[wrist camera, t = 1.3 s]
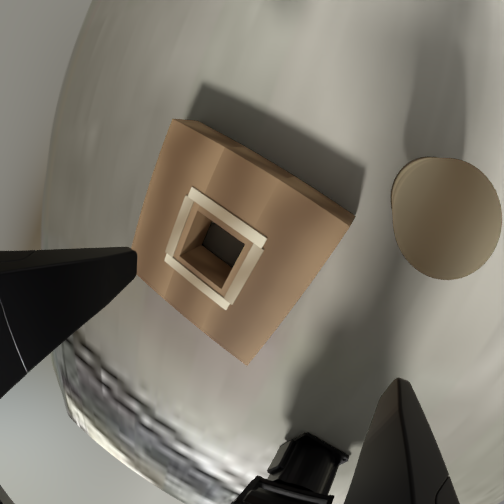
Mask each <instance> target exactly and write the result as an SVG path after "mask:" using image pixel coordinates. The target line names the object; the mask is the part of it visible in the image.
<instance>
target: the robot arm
mask: <svg viewBox="0 0 504 504" xmlns="http://www.w3.org/2000/svg"><path fill="white" fill-rule="evenodd" d="M137 257H138V256H137V252H136V251H134V250H133V249H131V248H129V247H108V248H80V249H54V250H37V251H35V250H30V251H0V399H1V398H2V397H3V396H4V395H5V394H6V393H7V392H8V391H9V390H10V389H11V388H12V387H13V386H14V385H16V383H18V382H19V381H20V380H21V379H22V378H23V377H24V376H25V375H26V374H27V373H28V372H29V371H30V370H32V369H33V368H34V367H35V366H36V365H37V364H38V363H40V362H41V361H42V360H43V359H44V358H45V357H46V356H47V355H49V354H50V353H51V352H52V351H53V350H54V349H55V348H57V347H58V346H59V345H60V344H61V343H62V342H64V341H65V340H66V339H67V338H68V337H69V336H71V335H72V334H73V333H74V332H75V331H76V330H78V329H79V328H80V327H81V326H82V325H84V324H85V323H86V322H87V321H88V320H90V319H91V318H92V317H93V316H94V315H96V314H97V313H98V312H99V311H101V310H102V309H103V308H104V307H105V306H106V305H108V304H109V303H110V302H111V301H112V300H113V299H114V298H115V297H116V296H117V295H118V294H119V293H120V292H121V291H122V290H123V289H124V288H125V287H126V286H127V285H128V284H129V283H130V282H131V281H132V280H133V279H134V278H135V276H136V274H137ZM348 459H349V456H348V455H346V454H344V453H342V452H340V451H339V450H337V449H335V448H333V447H331V446H330V445H328V444H326V443H325V442H323V441H321V440H319V439H318V438H316V437H314V436H313V435H311V434H309V433H304V434H302V435H301V436H299V437H298V438H296V439H294V440H290V441H289V442H287V443H285V444H284V445H282V446H281V447H280V448H279V449H278V451H277V454H276V456H275V457H274V459H273V461H272V463H271V464H270V466H269V468H268V470H267V471H268V473H269V474H270V475H269V477H268V479H264V478H262V477H261V476H258V475H257V476H256V477H255V479H254V480H252V481H251V482H250V483H249V485H248V486H247V487H246V488H245V489H244V491H243V492H242V493H241V494H240V495H239V496H238V498H236V499H235V500H234V501H233V502H232V503H231V504H332V502H333V499H334V495H328V493H329V491H330V488H331V485H332V483H333V480H334V478H335V475H336V472H337V469H338V467H339V465H340V464H343V463H345V462H347V461H348ZM448 475H449V473H448V471H447V468H446V465H445V463H444V460H443V458H442V455H441V453H440V450H439V448H438V445H437V443H436V440H435V438H434V435H433V433H432V431H431V428H430V426H429V424H428V421H427V419H426V417H425V414H424V412H423V410H422V408H421V405H420V403H419V401H418V399H417V397H416V394H415V392H414V390H413V388H412V386H411V384H410V382H409V381H407V380H404V379H402V378H396V379H395V380H394V381H393V382H392V383H391V385H390V386H389V387H388V388H387V390H386V391H385V392H384V393H383V395H382V396H381V398H380V400H379V402H378V405H377V408H376V411H375V414H374V417H373V419H372V422H371V425H370V427H369V430H368V433H367V435H366V438H365V440H364V443H363V446H362V449H361V453H360V456H359V459H358V463H357V466H356V469H355V473H354V476H353V479H352V482H351V485H350V488H349V491H348V494H347V496H346V499H345V502H344V504H460V503H459V501H458V498H457V495H456V492H455V490H454V487H453V484H452V482H451V479H450V477H449V476H448ZM0 504H14V503H13V501H12V500H11V499H10V498H9V496H8V495H7V494H6V492H5V491H4V490H3V488H2V487H1V485H0Z"/></svg>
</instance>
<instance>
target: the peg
mask: <svg viewBox="0 0 504 504" xmlns="http://www.w3.org/2000/svg"><path fill="white" fill-rule="evenodd" d="M391 208H392V215H393V229H394V234H395V238H396V241H397V244H398V246H399V248H400V250H401V252H402V254H403V255H404V257H405V258H406V260H407V261H408V262H409V263H410V264H411V265H412V266H413V267H414V268H415V269H417V270H418V271H420V272H421V273H423V274H425V275H427V276H429V277H432V278H436V279H441V280H453V279H458V278H462V277H465V276H468V275H470V274H471V273H473V272H475V271H476V270H478V269H479V268H480V267H481V266H482V265H484V264H485V263H486V261H487V260H488V259H489V258H490V256H491V255H492V253H493V252H494V250H495V248H496V245H497V243H498V240H499V237H500V233H501V226H502V212H501V205H500V201H499V198H498V195H497V193H496V190H495V189H494V187H493V185H492V183H491V182H490V181H489V179H488V178H487V177H486V176H485V175H484V174H483V173H482V172H481V171H480V170H479V169H478V168H476V167H475V166H473V165H471V164H470V163H467V162H465V161H462V160H458V159H453V158H437V157H421V158H417V159H415V160H412V161H411V162H409V163H408V164H406V165H405V166H404V167H403V168H402V169H401V170H400V171H399V173H398V174H397V176H396V178H395V180H394V182H393V185H392V189H391Z"/></svg>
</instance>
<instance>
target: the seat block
mask: <svg viewBox="0 0 504 504" xmlns="http://www.w3.org/2000/svg"><path fill="white" fill-rule="evenodd" d="M355 217H356V216H354V215H353V214H351V213H350V212H348V211H347V210H346V209H344V208H343V207H341V206H340V205H338V204H337V203H335V202H334V201H332V200H331V199H329V198H328V197H326V196H325V195H323V194H322V193H320V192H319V191H317V190H316V189H314V188H313V187H311V186H309V185H308V184H306V183H305V182H303V181H302V180H300V179H298V178H297V177H295V176H294V175H292V174H290V173H289V172H287V171H286V170H284V169H282V168H281V167H279V166H277V165H276V164H274V163H272V162H271V161H269V160H267V159H266V158H264V157H262V156H260V155H259V154H257V153H255V152H254V151H252V150H250V149H248V148H247V147H245V146H243V145H241V144H240V143H238V142H236V141H234V140H232V139H231V138H229V137H227V136H225V135H223V134H221V133H220V132H218V131H216V130H214V129H212V128H210V127H208V126H206V125H204V124H203V123H201V122H199V121H194V120H182V119H172V122H171V124H170V127H169V130H168V132H167V135H166V138H165V140H164V143H163V146H162V149H161V151H160V154H159V157H158V160H157V163H156V166H155V169H154V172H153V175H152V178H151V181H150V184H149V187H148V190H147V194H146V197H145V200H144V204H143V207H142V211H141V214H140V218H139V221H138V225H137V228H136V232H135V236H134V240H133V244H132V248H131V249H133V250H134V251H136V252H137V256H138V257H137V275H138V276H139V277H140V278H141V279H142V280H143V281H144V282H146V283H147V284H148V285H149V286H150V287H151V288H152V289H153V290H154V291H156V292H157V293H158V294H159V295H160V296H161V297H162V298H164V299H165V300H166V301H167V302H168V303H169V304H170V305H172V306H173V307H174V308H175V309H176V310H177V311H179V312H180V313H181V314H182V315H183V316H185V317H186V318H187V319H188V320H189V321H191V322H192V323H193V324H194V325H195V326H197V327H198V328H199V329H200V330H202V331H203V332H204V333H205V334H206V335H208V336H209V337H210V338H211V339H213V340H214V341H215V342H217V343H218V344H219V345H220V346H222V347H223V348H224V349H226V350H227V351H228V352H229V353H231V354H232V355H233V356H235V357H236V358H237V359H239V360H240V361H241V362H243V363H244V364H245V365H248V364H249V363H250V361H251V360H252V359H253V358H254V357H255V355H256V354H257V353H258V352H259V350H260V349H261V348H262V346H263V345H264V344H265V343H266V341H267V340H268V339H269V338H270V336H271V335H272V334H273V332H274V331H275V330H276V329H277V327H278V326H279V325H280V323H281V322H282V321H283V319H284V318H285V317H286V316H287V314H288V313H289V312H290V310H291V309H292V308H293V306H294V305H295V304H296V302H297V301H298V299H299V298H300V297H301V295H302V294H303V293H304V291H305V290H306V289H307V287H308V286H309V284H310V283H311V282H312V280H313V279H314V278H315V276H316V275H317V273H318V272H319V271H320V269H321V268H322V266H323V265H324V263H325V262H326V261H327V259H328V258H329V256H330V255H331V253H332V252H333V251H334V249H335V248H336V246H337V245H338V243H339V242H340V240H341V239H342V237H343V236H344V234H345V233H346V232H347V230H348V229H349V227H350V225H351V224H352V222H353V220H354V218H355ZM212 221H213V222H214V223H216V224H217V225H219V226H220V227H221V228H223V229H224V230H226V231H227V232H228V233H230V234H231V235H233V236H234V237H235V238H237V239H238V240H240V241H241V242H242V243H244V244H245V246H244V247H243V249H242V251H241V253H240V255H239V257H238V259H237V261H236V263H235V264H234V266H233V268H231V267H230V266H229V265H227V264H226V263H225V262H223V261H222V260H221V259H219V258H218V257H217V256H215V255H214V254H213V253H211V252H210V251H209V250H207V249H206V248H205V247H204V246H202V243H203V240H204V238H205V236H206V233H207V231H208V229H209V227H210V224H211V222H212Z"/></svg>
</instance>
